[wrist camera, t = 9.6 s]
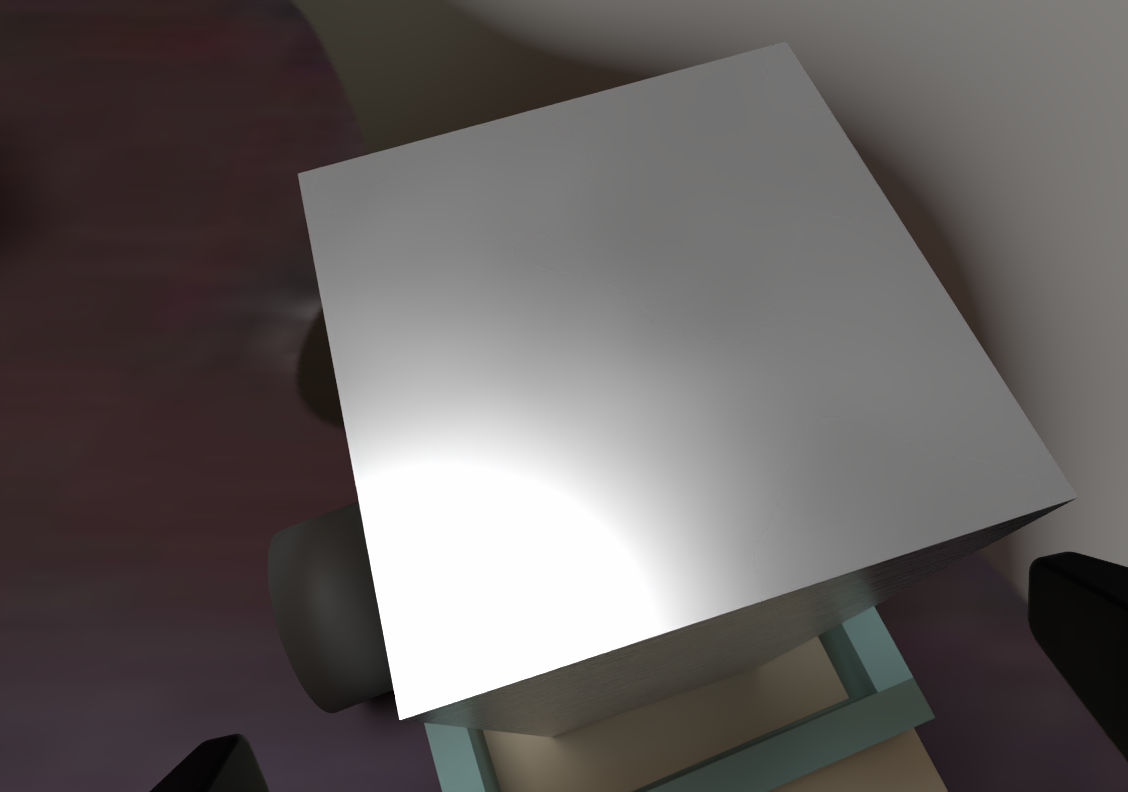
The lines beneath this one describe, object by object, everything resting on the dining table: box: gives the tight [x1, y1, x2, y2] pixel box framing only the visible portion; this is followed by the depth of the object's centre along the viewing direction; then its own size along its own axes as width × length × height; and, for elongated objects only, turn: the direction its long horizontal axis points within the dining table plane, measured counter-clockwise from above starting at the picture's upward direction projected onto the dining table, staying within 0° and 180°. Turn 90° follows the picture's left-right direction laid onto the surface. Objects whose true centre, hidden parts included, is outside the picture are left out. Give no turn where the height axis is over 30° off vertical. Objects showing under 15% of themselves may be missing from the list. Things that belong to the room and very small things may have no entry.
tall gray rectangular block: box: [298, 42, 1078, 737], centre depth 12 cm, size 5×5×13 cm
